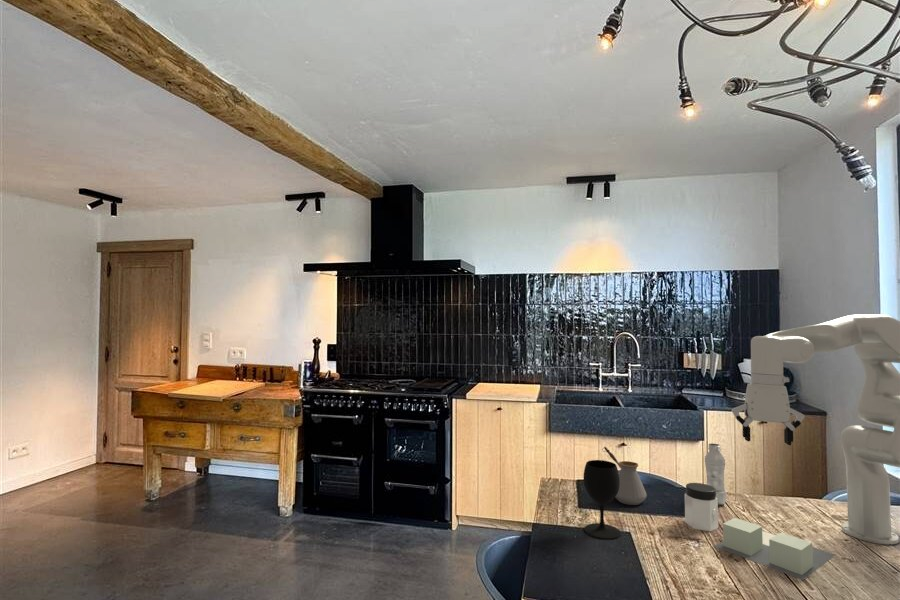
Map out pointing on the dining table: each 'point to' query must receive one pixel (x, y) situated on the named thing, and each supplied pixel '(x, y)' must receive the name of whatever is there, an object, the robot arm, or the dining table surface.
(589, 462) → the wine glass
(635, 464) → the coffee pot
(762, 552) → the slate mat
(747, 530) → the cover
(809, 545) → the cover
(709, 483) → the plastic bottle
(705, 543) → the dining table surface
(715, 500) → the jar
